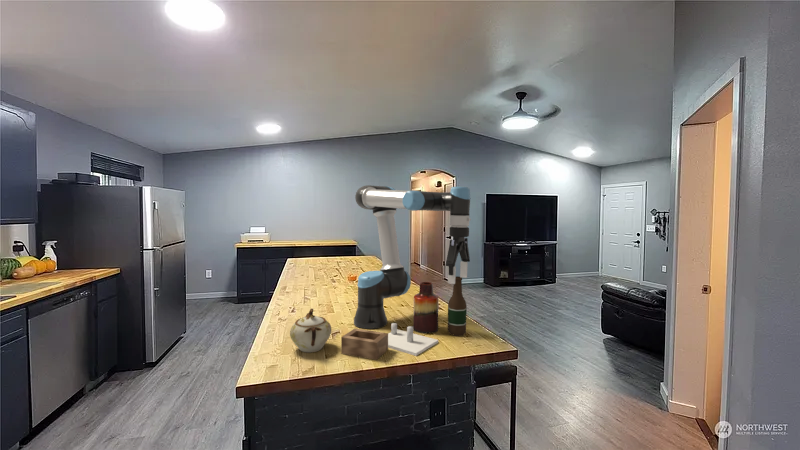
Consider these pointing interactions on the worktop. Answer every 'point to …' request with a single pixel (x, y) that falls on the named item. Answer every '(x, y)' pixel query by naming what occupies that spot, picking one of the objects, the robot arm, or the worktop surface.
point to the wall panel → (412, 346)
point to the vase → (425, 309)
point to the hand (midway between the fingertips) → (457, 280)
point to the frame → (364, 343)
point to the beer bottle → (457, 310)
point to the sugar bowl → (310, 332)
